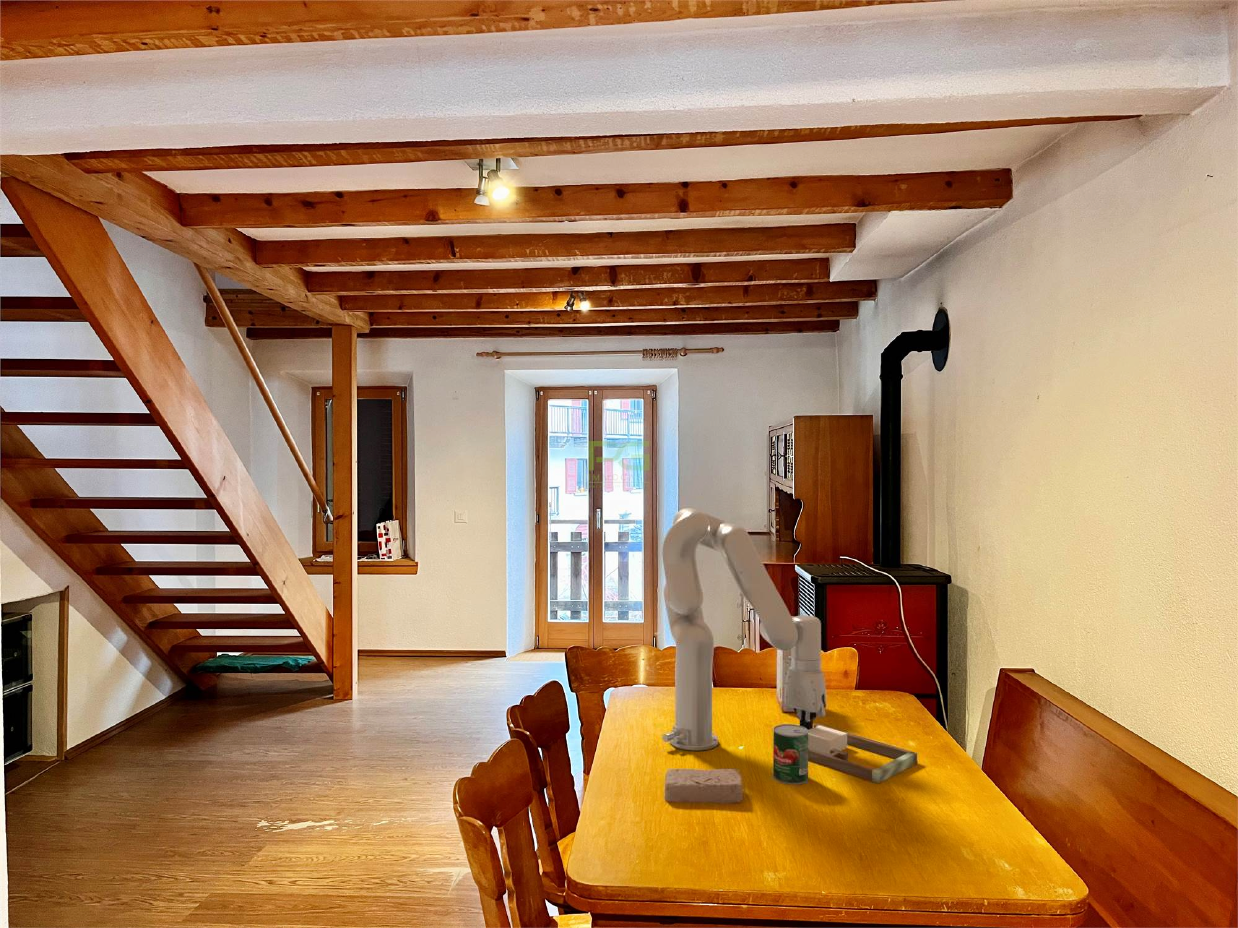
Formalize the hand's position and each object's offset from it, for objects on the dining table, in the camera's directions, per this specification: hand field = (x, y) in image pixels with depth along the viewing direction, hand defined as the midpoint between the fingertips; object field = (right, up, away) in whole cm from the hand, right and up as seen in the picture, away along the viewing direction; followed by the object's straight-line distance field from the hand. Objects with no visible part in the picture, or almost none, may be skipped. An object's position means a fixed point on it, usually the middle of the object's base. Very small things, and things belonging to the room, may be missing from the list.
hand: (806, 734), depth 198 cm
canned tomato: (-10, -2, -24) cm, 26 cm away
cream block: (+3, -2, -5) cm, 6 cm away
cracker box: (+2, -2, +29) cm, 29 cm away
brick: (-31, -2, -33) cm, 45 cm away
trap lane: (+7, -1, -11) cm, 13 cm away
